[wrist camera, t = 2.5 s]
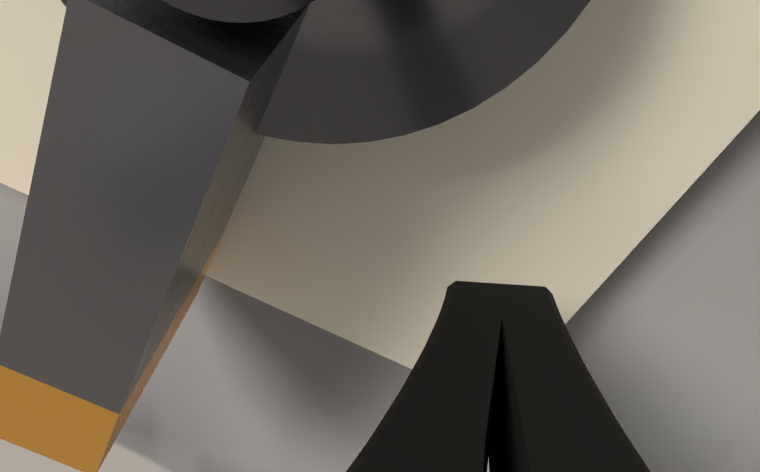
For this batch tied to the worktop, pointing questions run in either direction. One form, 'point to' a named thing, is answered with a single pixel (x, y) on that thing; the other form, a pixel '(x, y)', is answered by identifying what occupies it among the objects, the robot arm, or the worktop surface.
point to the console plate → (463, 171)
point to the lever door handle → (204, 166)
